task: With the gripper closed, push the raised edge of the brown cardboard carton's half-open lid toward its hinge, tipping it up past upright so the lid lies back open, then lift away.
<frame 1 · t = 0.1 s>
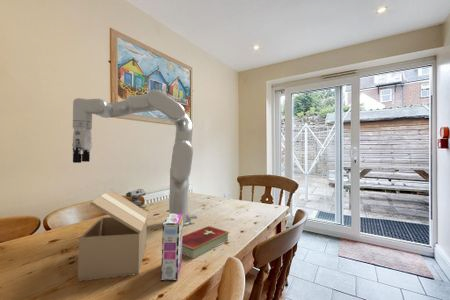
hand: (81, 162, 101), 31 cm above the table, tool pointing down, fingers open, 9 cm apart
candy bar box: (172, 271, 67), on the table
carton lid: (123, 209, 73), point 17 cm above the table, hinge at 35.0°
figurine: (135, 217, 120), on the table
hardcover book: (201, 246, 86), on the table
carton: (117, 260, 72), on the table
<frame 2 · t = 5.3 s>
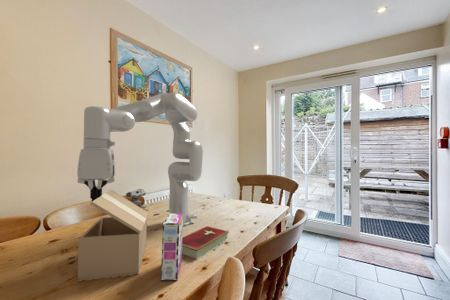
hand: (96, 200, 71), 20 cm above the table, tool pointing down, fingers closed
carton lid: (123, 208, 73), point 17 cm above the table, hinge at 35.2°, touching gripper
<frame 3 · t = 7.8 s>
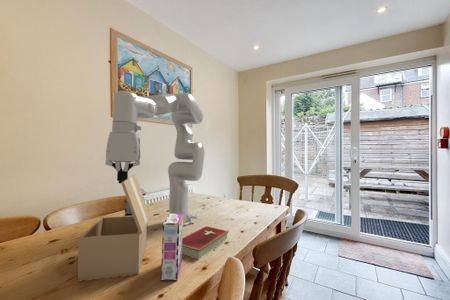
hand: (122, 182, 72), 26 cm above the table, tool pointing down, fingers closed
carton lid: (137, 200, 74), point 20 cm above the table, hinge at 70.5°, touching gripper
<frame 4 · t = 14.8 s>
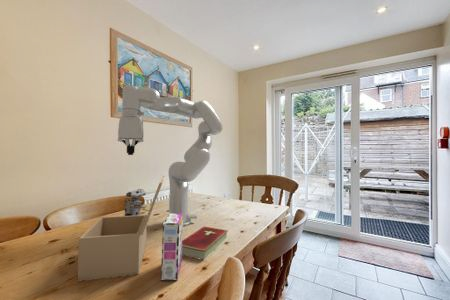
hand: (130, 154, 96), 35 cm above the table, tool pointing down, fingers closed
carton lid: (154, 201, 75), point 20 cm above the table, hinge at 109.2°
at the end: carton lid at +109° (first picture: +35°); candy bar box moved 0.2 cm from its start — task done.
